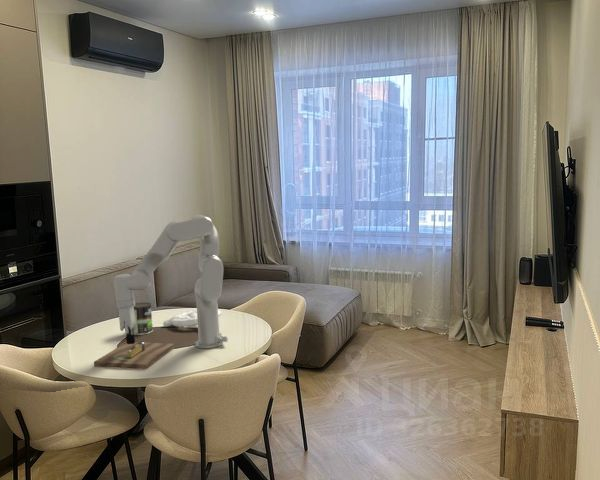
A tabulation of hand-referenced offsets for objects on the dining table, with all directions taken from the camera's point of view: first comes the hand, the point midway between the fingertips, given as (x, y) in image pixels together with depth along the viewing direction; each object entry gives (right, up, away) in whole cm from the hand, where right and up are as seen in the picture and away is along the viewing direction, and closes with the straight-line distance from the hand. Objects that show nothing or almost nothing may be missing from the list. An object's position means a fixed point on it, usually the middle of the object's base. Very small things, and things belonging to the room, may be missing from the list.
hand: (131, 343), depth 231 cm
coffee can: (-6, -2, +37) cm, 37 cm away
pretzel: (+18, +1, +48) cm, 51 cm away
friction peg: (+3, -4, -2) cm, 5 cm away
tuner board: (+2, -6, 0) cm, 6 cm away
